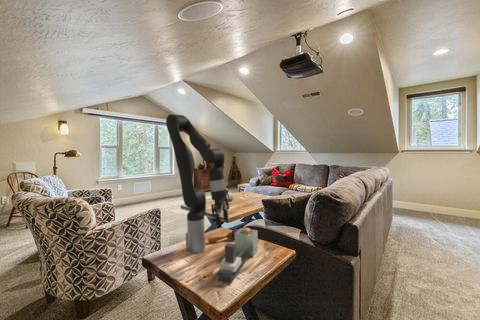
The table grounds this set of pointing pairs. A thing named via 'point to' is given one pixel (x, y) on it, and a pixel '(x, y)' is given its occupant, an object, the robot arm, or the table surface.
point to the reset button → (246, 230)
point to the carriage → (230, 259)
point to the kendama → (229, 235)
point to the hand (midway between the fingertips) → (222, 221)
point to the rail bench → (229, 274)
